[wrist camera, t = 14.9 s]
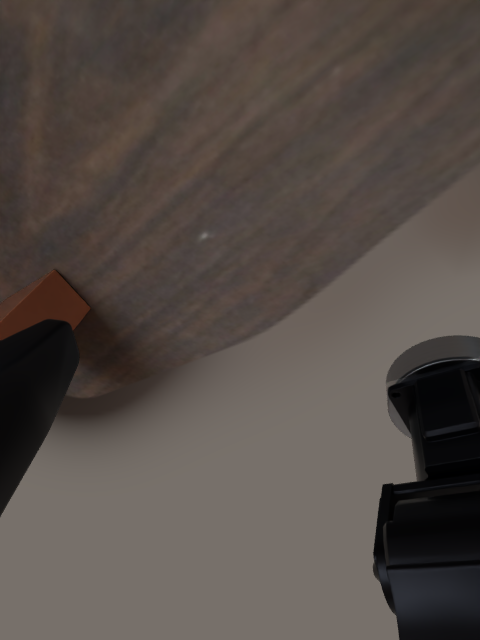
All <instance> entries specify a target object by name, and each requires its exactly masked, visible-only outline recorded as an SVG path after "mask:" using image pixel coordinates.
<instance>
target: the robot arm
mask: <svg viewBox="0 0 480 640" xmlns="http://www.w3.org/2000/svg"><path fill="white" fill-rule="evenodd" d="M79 358H80V357H79V350H78V347H77V343H76V340H75V336H74V333H73V329H72V326H71V325H70V324H69V322H67V321H63V320H56V319H46V320H43V321H41V322H39V323H37V324H35V325H33V326H31V327H28V328H26V329H24V330H22V331H20V332H18V333H16V334H14V335H11V336H9V337H7V338H5V339H3V340H1V341H0V516H1V514H2V513H3V511H4V509H5V508H6V506H7V504H8V502H9V501H10V499H11V497H12V495H13V494H14V492H15V490H16V488H17V487H18V485H19V483H20V481H21V480H22V478H23V476H24V474H25V473H26V471H27V469H28V467H29V466H30V464H31V462H32V460H33V459H34V457H35V455H36V453H37V451H38V450H39V448H40V446H41V445H42V443H43V441H44V439H45V437H46V436H47V434H48V432H49V430H50V428H51V425H52V423H53V421H54V419H55V417H56V414H57V412H58V410H59V407H60V405H61V403H62V401H63V398H64V396H65V394H66V392H67V389H68V387H69V385H70V382H71V380H72V378H73V376H74V373H75V371H76V369H77V366H78V363H79ZM387 392H388V397H389V399H390V400H391V402H392V404H393V405H394V407H395V409H396V410H397V412H398V414H399V415H400V417H401V419H402V420H403V422H404V424H405V425H406V427H407V429H408V430H409V432H410V434H411V438H412V446H413V454H414V461H415V469H416V477H417V482H410V483H402V484H395V485H394V484H393V483H391V484H384V485H383V487H382V494H381V498H380V502H379V511H378V519H377V527H376V535H375V543H374V552H373V555H374V564H373V572H374V575H375V577H376V578H377V580H379V581H380V583H381V586H382V590H383V593H384V596H385V598H386V601H387V603H388V605H389V607H390V609H391V610H392V612H393V613H394V614H395V615H396V616H397V624H398V630H399V640H480V362H477V363H474V364H470V365H466V366H462V367H458V368H455V369H451V370H447V371H443V372H440V373H436V374H432V375H428V376H424V377H421V378H417V379H413V380H409V381H406V382H402V383H398V384H394V385H391V386H390V387H389V388H388V390H387ZM394 392H398V393H394Z"/></svg>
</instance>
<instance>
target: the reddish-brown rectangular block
mask: <svg viewBox="0 0 480 640" xmlns="http://www.w3.org/2000/svg"><path fill="white" fill-rule="evenodd" d="M90 309H91V308H90V307H89V306H88V305H87V303H86V302H85V301H84V300H83V299H82V298H81V297H80V296H79V295H78V294H77V293H76V292H75V291H74V289H73V288H72V287H71V286H70V285H69V284H68V283H67V282H66V281H65V280H64V279H63V278H62V276H61V275H60V274H59V273H58V272H57V271H56V270H55V269H54V270H52V271H51V272H49V273H47V274H46V275H44V276H43V277H41V278H39V279H38V280H36V281H34V282H33V283H31V284H30V285H28V286H26V287H25V288H23V289H22V290H20V291H18V292H17V293H15V294H14V295H12V296H10V297H9V298H7V299H5V300H4V301H3V302H2V303H1V304H0V341H1V340H3V339H5V338H7V337H9V336H11V335H14V334H16V333H18V332H20V331H22V330H24V329H26V328H28V327H31V326H33V325H35V324H37V323H39V322H41V321H43V320H46V319H56V320H63V321H67V322H69V324H70V325H71V326H72V329H73V330H74V329H75V328H76V327H77V325H78V324H79V323H80V322H81V320H82V319H83V318H84V317H85V315H86V314H87V313H88V312H89V310H90Z"/></svg>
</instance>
